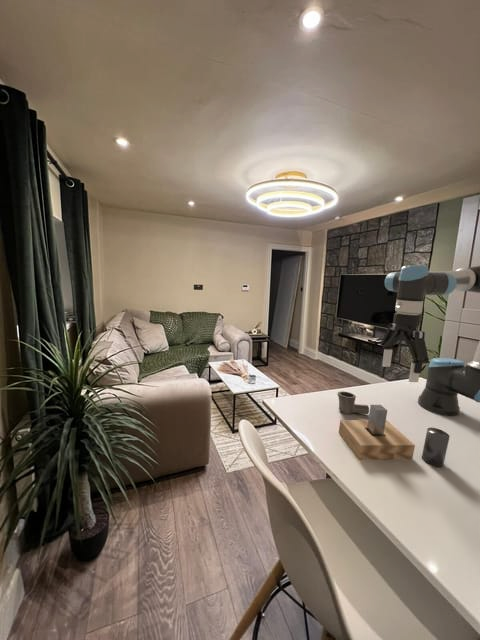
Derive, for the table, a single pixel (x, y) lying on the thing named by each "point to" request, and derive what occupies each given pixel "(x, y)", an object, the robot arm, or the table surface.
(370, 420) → the square bit
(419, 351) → the robot arm
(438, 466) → the round bit
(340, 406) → the pipe
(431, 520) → the table surface
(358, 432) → the block
